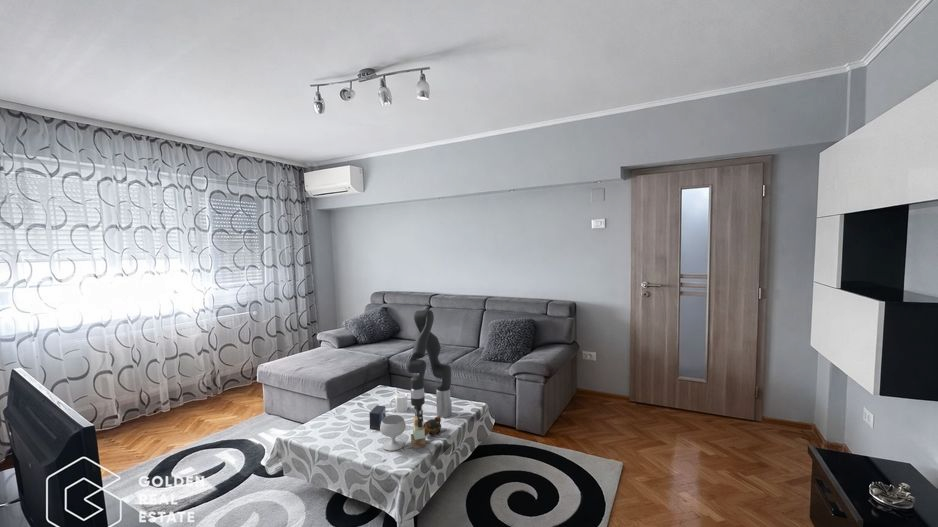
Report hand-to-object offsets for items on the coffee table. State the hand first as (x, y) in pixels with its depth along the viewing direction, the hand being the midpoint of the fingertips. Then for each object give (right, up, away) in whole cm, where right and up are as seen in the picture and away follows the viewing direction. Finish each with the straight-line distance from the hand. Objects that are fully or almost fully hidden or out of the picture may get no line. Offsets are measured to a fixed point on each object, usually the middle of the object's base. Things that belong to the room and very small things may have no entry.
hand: (418, 423), depth 215 cm
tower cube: (0, -7, 0) cm, 7 cm away
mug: (-19, -10, +45) cm, 50 cm away
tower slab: (0, -12, +1) cm, 12 cm away
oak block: (0, -2, 0) cm, 2 cm away
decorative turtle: (+6, -11, +14) cm, 19 cm away
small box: (-28, -11, +24) cm, 39 cm away
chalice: (-14, -13, +1) cm, 19 cm away
